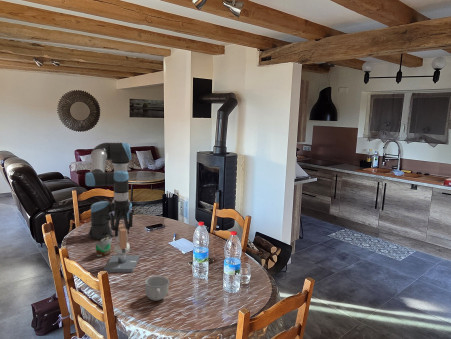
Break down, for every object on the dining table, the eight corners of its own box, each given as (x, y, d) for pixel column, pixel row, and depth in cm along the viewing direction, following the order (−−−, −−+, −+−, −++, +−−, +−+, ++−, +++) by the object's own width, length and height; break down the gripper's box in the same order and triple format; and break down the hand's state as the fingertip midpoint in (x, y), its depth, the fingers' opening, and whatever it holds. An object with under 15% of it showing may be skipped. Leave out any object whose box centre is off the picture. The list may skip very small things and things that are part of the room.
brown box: (112, 247, 179) (112, 225, 177) (127, 245, 182) (127, 223, 180) (116, 255, 169) (115, 231, 167) (131, 253, 173) (131, 229, 171)
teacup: (147, 290, 152) (147, 275, 150) (170, 290, 153) (170, 275, 151) (142, 307, 138) (142, 290, 137) (167, 307, 139) (167, 290, 138)
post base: (112, 258, 185) (112, 244, 184) (138, 258, 186) (138, 245, 185) (103, 272, 168) (103, 257, 167) (132, 272, 169) (132, 257, 168)
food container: (104, 259, 183) (104, 243, 182) (95, 258, 185) (94, 241, 183) (116, 251, 195) (116, 235, 194) (107, 250, 196) (106, 234, 195)
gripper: (108, 203, 163) (109, 246, 167) (138, 198, 174) (139, 239, 177) (103, 200, 169) (104, 242, 172) (133, 196, 180) (133, 235, 183)
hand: (121, 240), depth 175 cm, fingers closed on brown box, 4 cm apart
